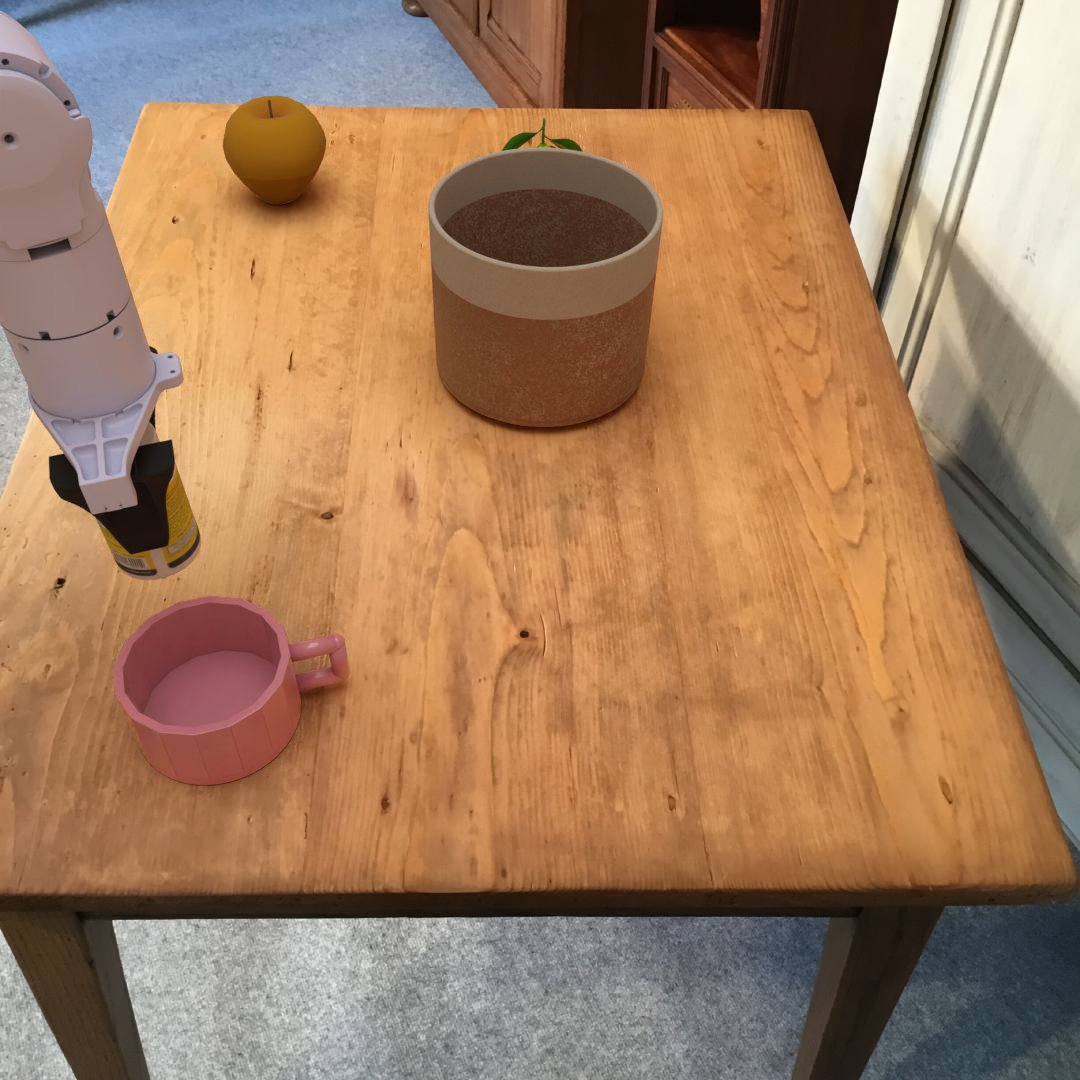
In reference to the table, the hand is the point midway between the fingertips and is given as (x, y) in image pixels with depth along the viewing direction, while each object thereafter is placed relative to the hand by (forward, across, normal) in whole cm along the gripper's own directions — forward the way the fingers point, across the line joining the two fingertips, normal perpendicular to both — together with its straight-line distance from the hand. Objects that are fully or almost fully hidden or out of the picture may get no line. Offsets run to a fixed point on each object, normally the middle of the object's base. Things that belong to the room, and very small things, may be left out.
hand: (144, 511), depth 59 cm
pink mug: (+9, -8, -3) cm, 12 cm away
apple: (+10, +47, -14) cm, 50 cm away
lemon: (+11, +36, -34) cm, 51 cm away
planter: (+10, +17, -28) cm, 35 cm away
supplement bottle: (+3, 0, 0) cm, 3 cm away
